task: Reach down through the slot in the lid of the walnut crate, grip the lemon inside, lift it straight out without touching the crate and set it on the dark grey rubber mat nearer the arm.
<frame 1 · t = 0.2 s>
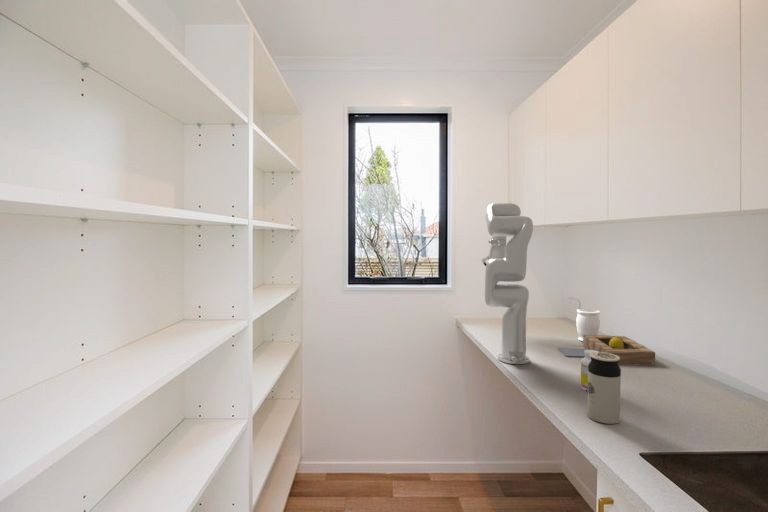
hand: (498, 275, 206), 31 cm above the counter, tool pointing down, fingers open, 9 cm apart
grey mat: (575, 353, 172), on the counter
jar: (587, 340, 193), on the counter
travel mug: (603, 418, 111), on the counter
walnut crate: (616, 354, 170), on the counter
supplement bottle: (591, 389, 132), on the counter
lemon: (616, 355, 170), resting in walnut crate
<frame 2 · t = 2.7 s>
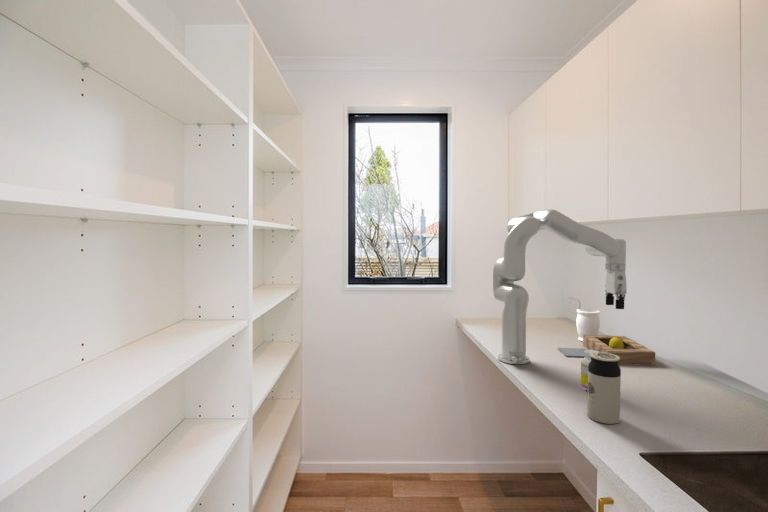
hand: (614, 306, 170), 21 cm above the counter, tool pointing down, fingers open, 9 cm apart
nothing on the counter moved.
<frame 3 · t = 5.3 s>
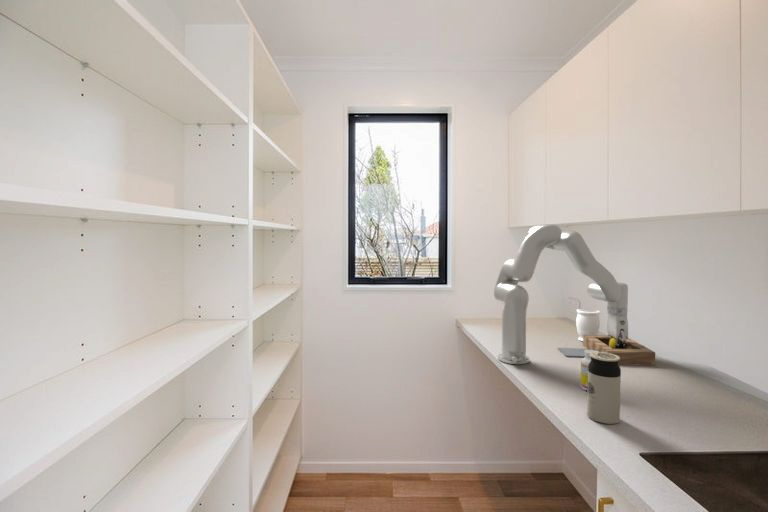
hand: (616, 352, 170), 1 cm above the counter, tool pointing down, fingers closed on lemon, 5 cm apart
lemon: (616, 355, 170), resting in walnut crate, touching gripper
everything else where it was.
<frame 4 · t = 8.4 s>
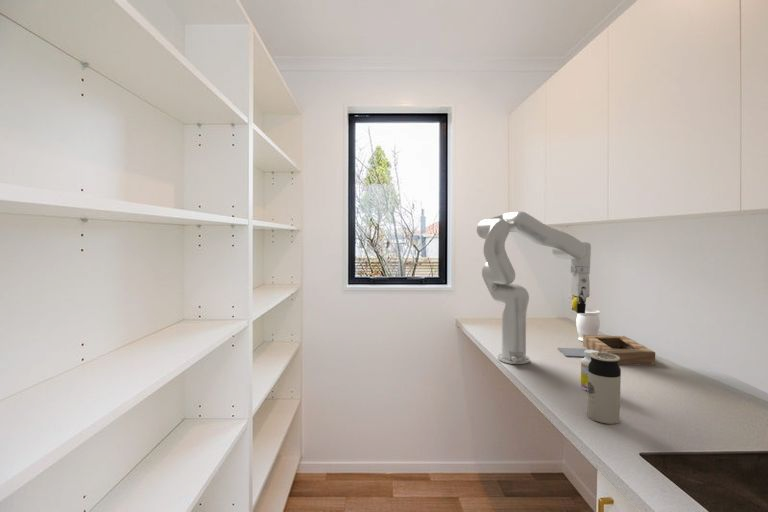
hand: (578, 311, 171), 19 cm above the counter, tool pointing down, fingers closed on lemon, 5 cm apart
lemon: (578, 314, 171), point 17 cm above the counter, touching gripper
everything else where it was.
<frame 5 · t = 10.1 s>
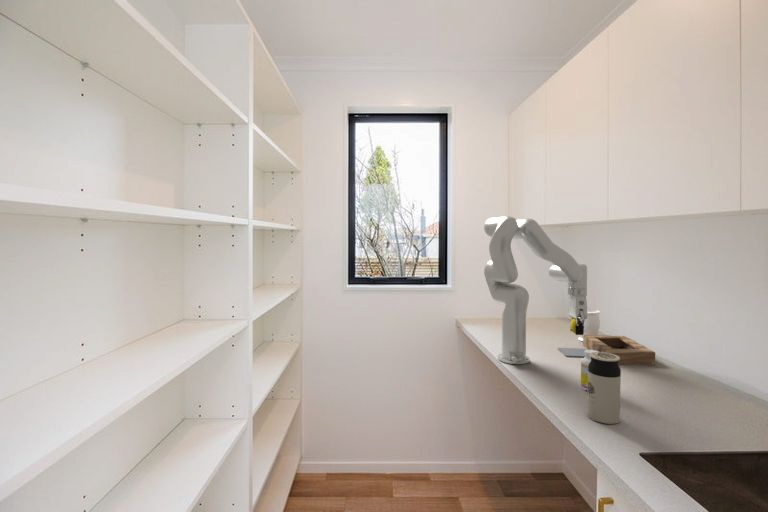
hand: (576, 332, 172), 9 cm above the counter, tool pointing down, fingers closed on lemon, 5 cm apart
lemon: (576, 335, 172), point 8 cm above the counter, touching gripper
everything else where it was.
when the fingers open (4 cm above the counter, at t = 11.4 s): lemon drops 2 cm, resting on grey mat.
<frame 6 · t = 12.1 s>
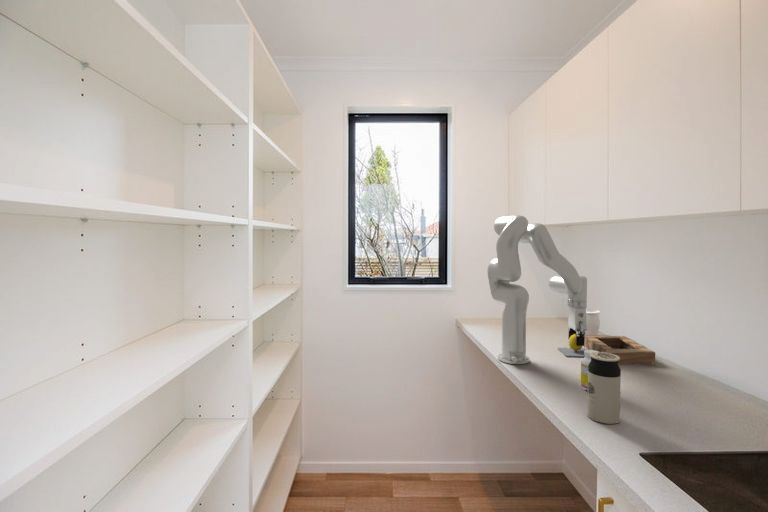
hand: (576, 342, 172), 5 cm above the counter, tool pointing down, fingers open, 9 cm apart
lemon: (575, 352, 173), resting on grey mat
everything else where it was.
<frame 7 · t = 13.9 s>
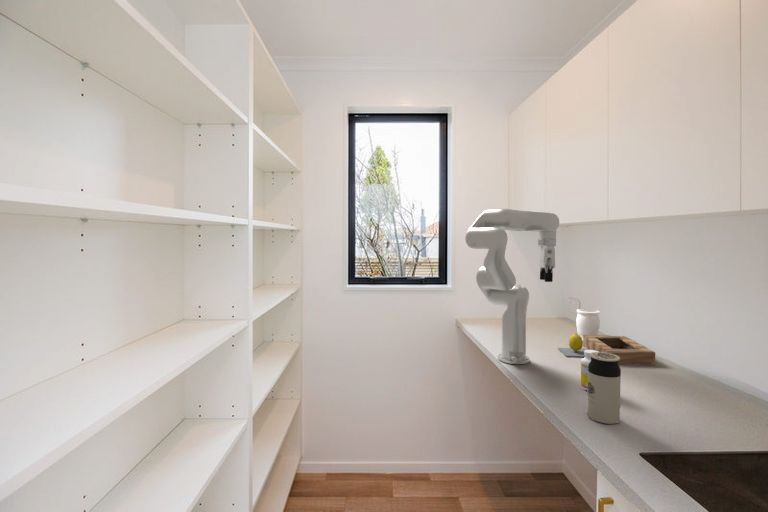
hand: (545, 280, 178), 31 cm above the counter, tool pointing down, fingers open, 9 cm apart
nothing on the counter moved.
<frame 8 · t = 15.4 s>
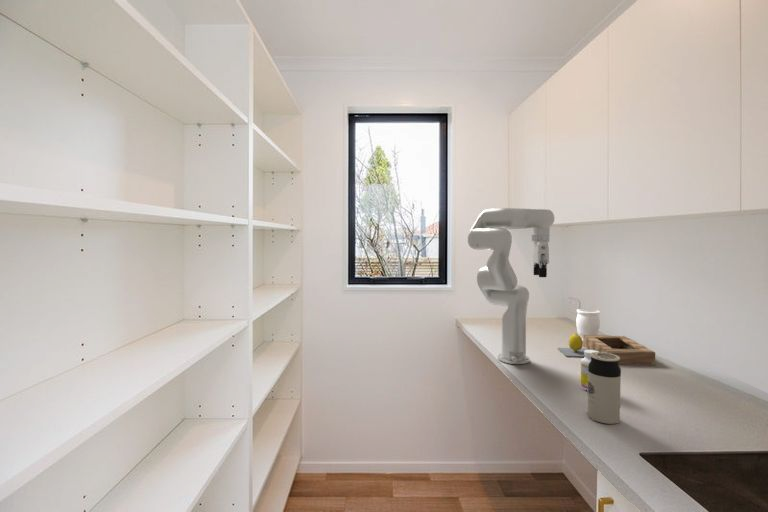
hand: (539, 276, 179), 33 cm above the counter, tool pointing down, fingers open, 9 cm apart
nothing on the counter moved.
at the end: lemon inside the target area on the grey mat (0.3 cm from its centre), point 0.4 cm above the grey mat's base; the gripper is holding nothing; lemon touching grey mat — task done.
